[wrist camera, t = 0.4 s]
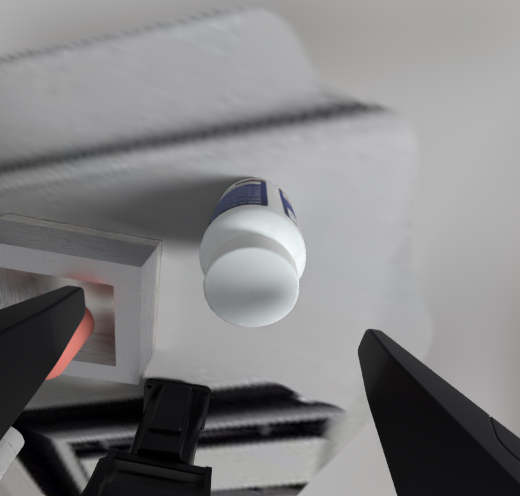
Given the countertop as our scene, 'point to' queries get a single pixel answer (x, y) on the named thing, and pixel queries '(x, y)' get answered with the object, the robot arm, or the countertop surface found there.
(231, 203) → the pill bottle
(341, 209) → the countertop surface
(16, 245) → the frame
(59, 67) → the countertop surface
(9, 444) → the cup
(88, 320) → the plunger
